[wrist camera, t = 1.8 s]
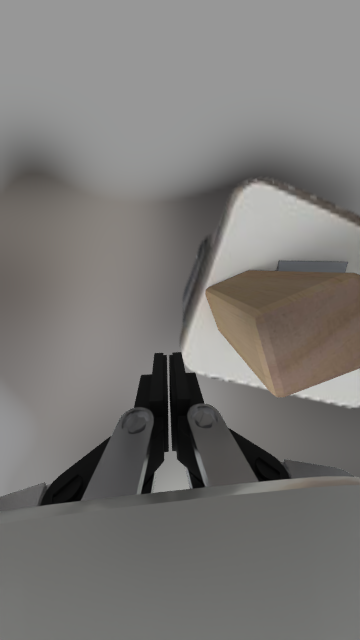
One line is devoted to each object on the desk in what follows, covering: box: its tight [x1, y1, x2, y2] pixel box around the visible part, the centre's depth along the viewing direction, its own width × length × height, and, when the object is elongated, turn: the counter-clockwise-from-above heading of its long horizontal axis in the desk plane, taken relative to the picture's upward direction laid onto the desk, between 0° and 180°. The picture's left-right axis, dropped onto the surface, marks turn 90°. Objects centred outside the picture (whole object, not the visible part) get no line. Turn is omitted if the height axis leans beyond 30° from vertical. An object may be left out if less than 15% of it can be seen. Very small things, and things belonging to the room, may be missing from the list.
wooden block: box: [206, 271, 360, 397], centre depth 25 cm, size 10×10×20 cm
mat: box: [277, 261, 348, 273], centre depth 35 cm, size 14×16×1 cm
